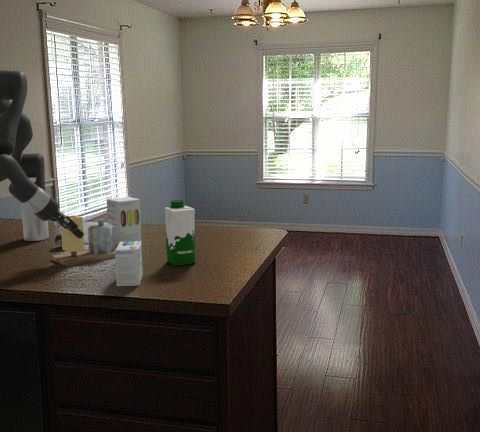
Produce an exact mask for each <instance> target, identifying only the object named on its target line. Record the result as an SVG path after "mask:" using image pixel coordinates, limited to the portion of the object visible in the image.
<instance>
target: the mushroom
mask: <svg viewBox="0 0 480 432" xmlns="http://www.w3.org/2000/svg"><path fill="white" fill-rule="evenodd" d="M54 243H55V245H56V246H58V247H62V235H61V232H60V233H58V234H57V235H56V236H55V237H54Z"/></svg>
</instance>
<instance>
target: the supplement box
mask: <svg viewBox="0 0 480 432" xmlns="http://www.w3.org/2000/svg"><path fill="white" fill-rule="evenodd" d="M106 213H107V215H106V217H107V223H109V224H112V225H114V229H115V246H116V247H117V246H118V244H119V242H128V241H141V242H142V222H141V221H142V220H141V219H142V218H141V216H142V215H141V214H142V213H141V199H140V198H136V197H135V198H134V197H131V196H130V197H129V196H125V197H116V198H114V197H113V198H107V199H106Z"/></svg>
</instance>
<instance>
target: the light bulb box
mask: <svg viewBox="0 0 480 432" xmlns="http://www.w3.org/2000/svg"><path fill="white" fill-rule="evenodd" d="M115 249H116V250H115V258H114V259H115V260H114V261H115V263H114V264H115V278H116V279H115V280H116V287H135V286H136V287H137V286H138V287H139V286H140V284H141V280H142V278H143V257H142V255H143V252H142V250H143V249H142V240H141V241H128V242H119V244H118V246H117V245H116V247H115Z"/></svg>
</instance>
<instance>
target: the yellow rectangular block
mask: <svg viewBox="0 0 480 432" xmlns="http://www.w3.org/2000/svg"><path fill="white" fill-rule="evenodd" d="M68 216H69V218H70V219H71V220H72V221H73V222H74V223H76V224H77V225H78V227H77V228H78V229H79V230H81V231H82V232H83V233H84V222H83V220H84V218H83V216H79V215H75V214H73V215H68ZM64 226H65V225H64ZM72 227H73V226H71V228H72ZM60 230H61V232H60V233H61V235H62V246H61V248H62V250H63V251H64V252H66V253H70V252H75V251H81V250H85V236H84V235H85V234H84V235H83V237H82V238H81V239H79V238H78V237H77V236H75V235H74V234H73V233H72V232H70V231H69V230H68V229H64V228H62V227H61V228H60Z"/></svg>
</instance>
